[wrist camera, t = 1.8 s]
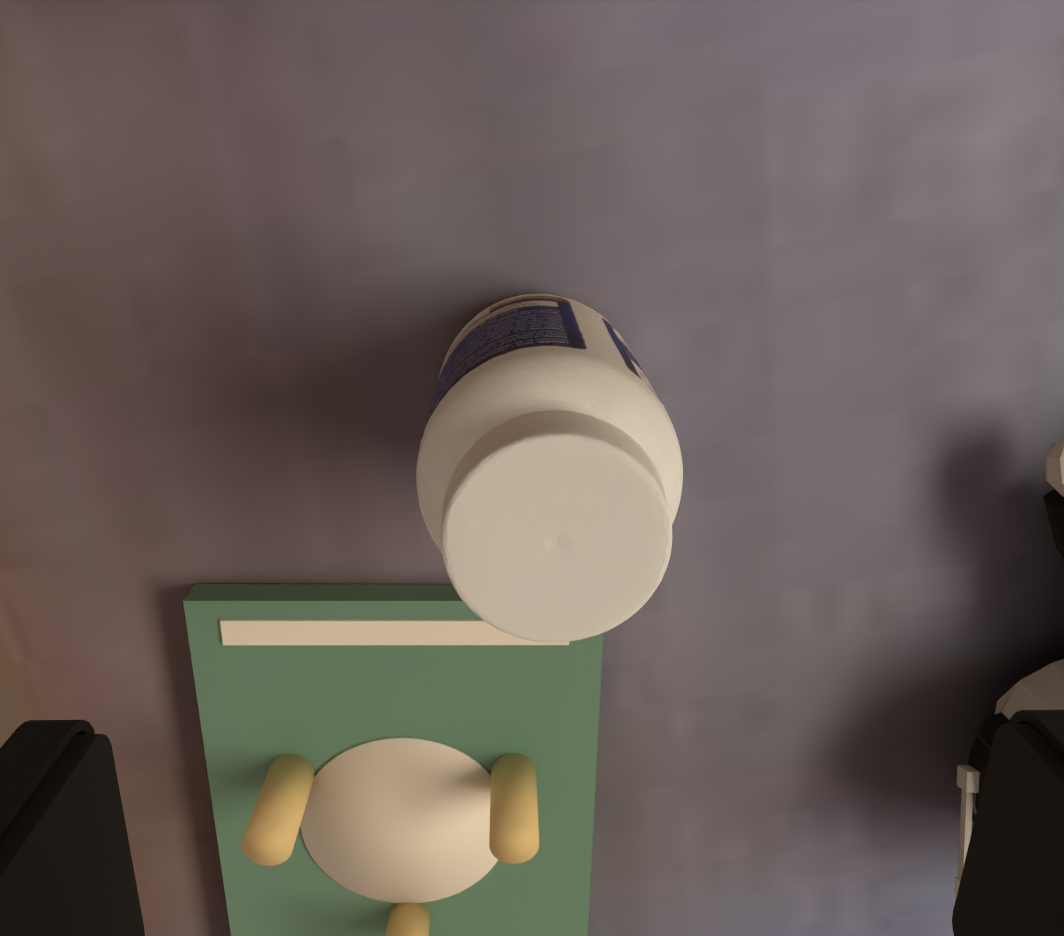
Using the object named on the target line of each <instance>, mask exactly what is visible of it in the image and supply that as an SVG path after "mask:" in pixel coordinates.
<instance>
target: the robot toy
mask: <svg viewBox="0 0 1064 936" xmlns="http://www.w3.org/2000/svg"><path fill="white" fill-rule="evenodd" d="M1045 476H1046V479H1047V482H1048V483H1049V484H1050V485H1051V486H1052V487H1053V488H1055V489H1054V490H1052V491H1051V492H1049V493H1047V494H1046V495H1044V496H1043V497H1044V501H1045V505H1046V509H1047V513H1048V517H1049V521H1050V525H1051V529H1052V532H1053V536H1054V540H1055V544H1056V548H1057V549H1058V551H1059V552H1060V553H1061V554H1062V556H1063V557H1064V439H1063V440H1061V441H1058V442H1056V443H1054V444H1053V445H1052V446H1051V447H1050V448H1049V449H1048V450H1047V451H1046V452H1045ZM1021 710H1064V659H1062V660H1059V661H1056V662H1053V663H1051V664H1049V665H1047V666H1045V667H1043V668H1042V669H1040V670H1038V671H1036V672H1034V673H1032V674H1031V675H1029V676H1027V677H1025V678H1023V679H1022V680H1020V681H1019V682H1017V683H1016V684H1015V685H1014V686H1013V687H1012V688H1011V689H1010V690H1009V691H1008V692H1006V693H1005V694H1004V695H1003V696H1002V697H1001V698H1000V699H999V700H998V701H997V705H996V710H995V714H994V715H992V716H989V717H987V718H986V719H985V720H984V721H983V722H982V725H981V727H980V730H979V732H978V735H977V738H976V740H975V742H974V744H973V746H972V748H971V750H970V755H969V759H968V764H967V765H958V768H957V786H958V787H959V788H961V789H962V795H961V817H960V839H959V861H958V877H955V895H956V897H957V893H958V889H959V884H960V880H961V876H962V872H963V867H964V863H965V859H966V854H967V850H968V846H969V842H970V837H971V830H972V820H973V821H974V820H975V816H976V812H977V807H978V803H979V799H980V795H981V790H982V786H983V782H984V778H985V773H986V769H987V765H988V761H989V756H990V752H991V748H992V743H993V739H994V736H995V733H996V730H997V729H998V728H999V727H1000V726H1001V725H1004V724H1008V723H1009V720H1010V718H1011V717H1012V716H1013V714H1014V713H1015V712H1018V711H1021Z"/></svg>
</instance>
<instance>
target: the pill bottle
mask: <svg viewBox="0 0 1064 936" xmlns="http://www.w3.org/2000/svg"><path fill="white" fill-rule="evenodd" d="M682 482H683V465H682V457H681V451H680V446H679V442H678V439H677V436H676V433H675V430H674V427H673V425H672V422H671V420H670V418H669V416H668V414H667V412H666V410H665V408H664V406H663V404H662V402H661V401H660V400H659V398H658V396H657V395H656V393H655V392H654V390H653V388H652V386H651V385H650V383H649V381H648V379H647V377H646V376H645V374H644V372H643V371H642V369H641V367H640V365H639V364H638V362H637V361H636V359H635V357H634V355H633V354H632V352H631V350H630V349H629V347H628V345H627V344H626V342H625V341H624V339H623V338H622V337H621V335H620V334H619V333H618V332H617V330H616V329H615V328H614V327H613V326H612V325H611V324H610V323H609V322H608V321H607V320H606V319H605V318H604V317H603V316H602V315H600V314H599V313H597V312H596V311H595V310H593V309H591V308H589V307H587V306H586V305H584V304H582V303H579V302H577V301H575V300H572V299H569V298H565V297H561V296H556V295H551V294H524V295H519V296H514V297H511V298H507V299H504V300H502V301H500V302H497V303H495V304H493V305H491V306H489V307H488V308H486V309H485V310H483V311H482V312H480V313H479V314H477V315H476V316H475V317H474V318H473V319H472V320H471V321H470V322H469V323H468V324H467V325H466V326H465V327H464V328H463V329H462V330H461V331H460V333H459V334H458V335H457V337H456V338H455V339H454V341H453V343H452V345H451V346H450V348H449V350H448V352H447V354H446V357H445V360H444V362H443V364H442V367H441V371H440V374H439V378H438V382H437V386H436V389H435V393H434V397H433V401H432V405H431V409H430V412H429V416H428V419H427V423H426V426H425V429H424V433H423V436H422V439H421V442H420V450H419V454H418V459H417V469H416V484H417V495H418V501H419V506H420V511H421V514H422V517H423V519H424V522H425V525H426V527H427V529H428V531H429V533H430V535H431V537H432V539H433V541H434V542H435V544H436V545H437V547H438V548H439V550H440V551H441V552H442V555H443V560H444V564H445V568H446V571H447V573H448V576H449V579H450V581H451V583H452V585H453V587H454V588H455V590H456V592H457V594H458V595H459V597H460V598H461V599H462V601H463V602H464V603H465V604H466V605H467V606H468V607H469V608H470V609H471V610H472V611H473V612H474V613H475V614H476V615H477V616H479V617H480V618H481V619H483V620H484V621H486V622H487V623H488V624H490V625H491V626H493V627H495V628H497V629H498V630H500V631H502V632H505V633H508V634H510V635H513V636H515V637H518V638H522V639H526V640H531V641H538V642H551V643H552V642H568V641H576V640H581V639H585V638H588V637H592V636H595V635H598V634H601V633H603V632H606V631H608V630H610V629H612V628H614V627H616V626H617V625H619V624H621V623H622V622H624V621H625V620H627V619H628V618H629V617H631V616H632V615H633V614H634V613H636V612H637V611H638V610H639V609H640V608H641V607H642V606H643V605H644V604H645V603H646V602H647V601H648V599H649V598H650V597H651V596H652V594H653V593H654V591H655V590H656V588H657V587H658V585H659V584H660V582H661V580H662V578H663V576H664V573H665V571H666V568H667V565H668V562H669V558H670V554H671V547H672V523H673V521H674V519H675V516H676V513H677V510H678V507H679V503H680V498H681V492H682Z"/></svg>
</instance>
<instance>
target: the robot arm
mask: <svg viewBox="0 0 1064 936" xmlns="http://www.w3.org/2000/svg"><path fill="white" fill-rule="evenodd" d="M952 925H953V932H954V936H1064V710H1021V711H1018V712H1015V713H1014V714H1013V716H1012V717H1011V718H1010V720H1009V723H1008V724H1004V725H1001V726H1000V727H999V728H998V729H997V730H996V733H995V736H994V739H993V743H992V748H991V752H990V756H989V761H988V765H987V769H986V773H985V778H984V782H983V786H982V790H981V795H980V799H979V803H978V807H977V812H976V816H975V820H974V825H973V829H972V833H971V837H970V842H969V846H968V850H967V854H966V859H965V863H964V867H963V872H962V876H961V880H960V884H959V889H958V893H957V897H956V901H955V906H954V910H953V917H952ZM0 936H145V933H144V925H143V919H142V914H141V908H140V903H139V897H138V891H137V886H136V880H135V875H134V869H133V864H132V858H131V852H130V847H129V841H128V836H127V830H126V824H125V819H124V813H123V808H122V802H121V796H120V791H119V785H118V780H117V774H116V769H115V763H114V757H113V752H112V747H111V743H110V740H109V739H108V737H107V736H106V735H103V734H95V732H94V729H93V727H92V726H91V724H90V723H89V722H88V721H85V720H30V721H27V722H24V723H23V724H22V725H20V726H19V727H18V728H17V729H16V730H15V732H14V733H13V734H12V735H11V737H9V739H8V740H7V741H6V742H5V744H4V745H3V746H2V747H1V748H0Z"/></svg>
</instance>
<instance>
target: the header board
mask: <svg viewBox="0 0 1064 936" xmlns="http://www.w3.org/2000/svg"><path fill="white" fill-rule="evenodd" d="M183 604H184V611H185V618H186V625H187V632H188V639H189V646H190V653H191V660H192V667H193V674H194V681H195V688H196V695H197V702H198V709H199V716H200V723H201V730H202V737H203V744H204V751H205V758H206V765H207V771H208V778H209V785H210V792H211V799H212V806H213V813H214V820H215V827H216V834H217V841H218V848H219V855H220V862H221V869H222V876H223V883H224V890H225V897H226V904H227V911H228V918H229V925H230V932H231V936H588V921H589V902H590V883H591V863H592V844H593V825H594V805H595V786H596V767H597V747H598V728H599V709H600V689H601V670H602V651H603V633H601V634H598V635H595V636H592V637H588V638H585V639H581V640H576V641H568V642H552V643H551V642H538V641H531V640H526V639H522V638H518V637H515V636H513V635H510V634H508V633H505V632H502V631H500V630H498V629H497V628H495V627H493V626H491V625H490V624H488V623H487V622H486V621H484V620H483V619H481V618H480V617H479V616H477V615H476V614H475V613H474V612H473V611H472V610H471V609H470V608H469V607H468V606H467V605H466V604H465V603H464V602H463V601H462V599H461V598H460V597H459V595H458V594H457V592H456V590H455V588H454V587H453V585H452V584H194V586H193V587H192V589H191V590H190V592H189V593H188V594H187V596H186V597H185V599H184V600H183Z"/></svg>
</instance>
